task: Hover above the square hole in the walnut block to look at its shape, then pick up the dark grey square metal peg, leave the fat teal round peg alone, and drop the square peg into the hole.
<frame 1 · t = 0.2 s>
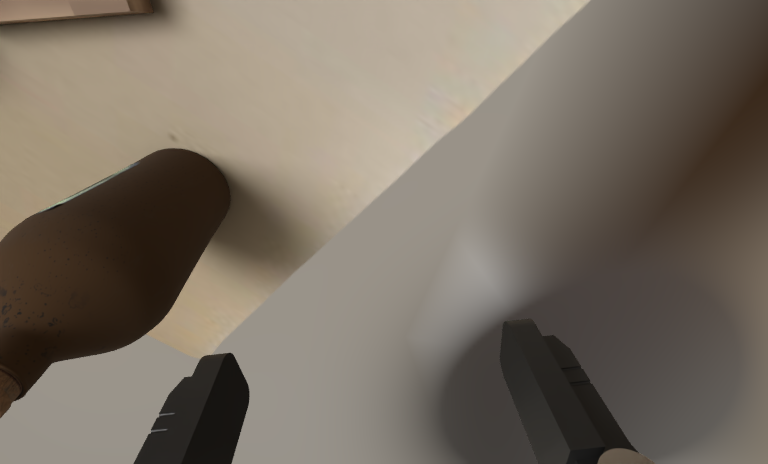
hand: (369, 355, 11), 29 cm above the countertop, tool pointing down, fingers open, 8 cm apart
brown bottle: (186, 188, 38), on the countertop
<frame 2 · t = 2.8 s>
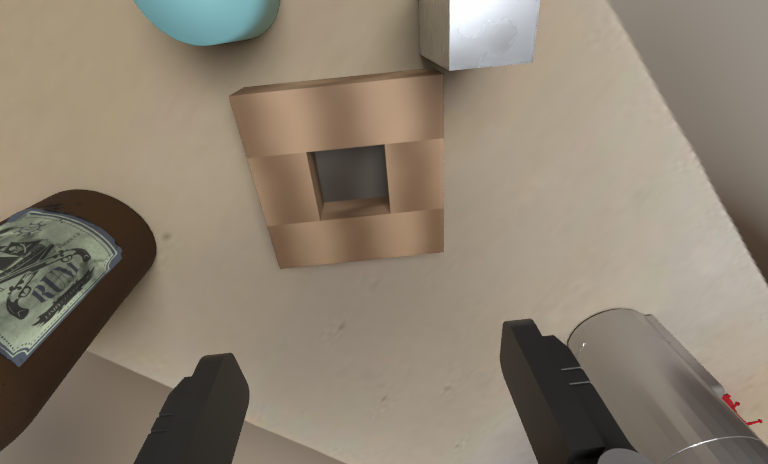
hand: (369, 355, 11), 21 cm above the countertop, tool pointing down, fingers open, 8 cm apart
square peg: (447, 18, 24), on the countertop
brown bottle: (103, 235, 32), on the countertop
socket block: (351, 168, 30), on the countertop
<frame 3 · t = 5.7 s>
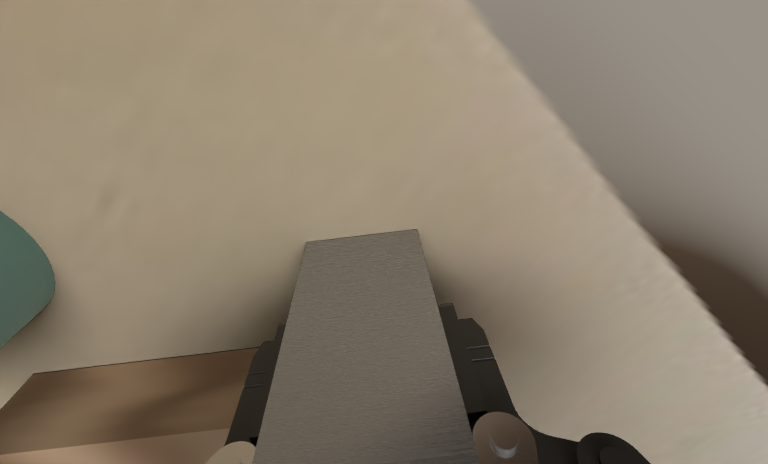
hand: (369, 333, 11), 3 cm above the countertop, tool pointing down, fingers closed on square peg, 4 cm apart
square peg: (368, 279, 14), on the countertop, touching gripper
socket block: (243, 443, 19), on the countertop
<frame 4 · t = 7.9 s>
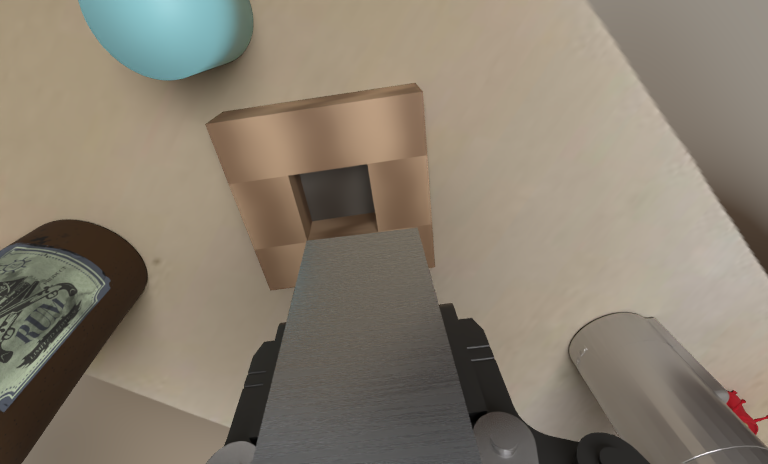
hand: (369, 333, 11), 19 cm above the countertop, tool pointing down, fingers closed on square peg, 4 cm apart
alarm clock: (684, 415, 51), on the countertop
square peg: (369, 277, 14), point 16 cm above the countertop, touching gripper
brown bottle: (93, 262, 32), on the countertop
socket block: (338, 186, 29), on the countertop
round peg: (204, 12, 22), on the countertop
when the fingers open (5 cm above the countertop, at t = 10.6 s): square peg drops 2 cm, resting on socket block.
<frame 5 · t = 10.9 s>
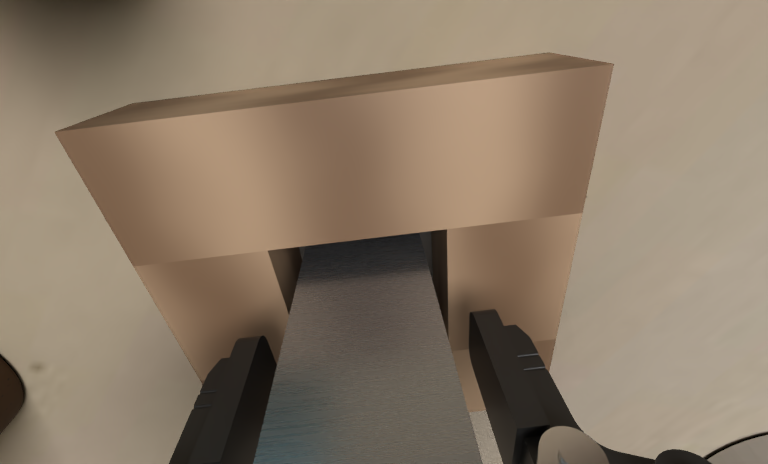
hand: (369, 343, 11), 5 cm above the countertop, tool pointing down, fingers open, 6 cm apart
square peg: (368, 253, 15), resting on socket block
socket block: (367, 251, 15), on the countertop
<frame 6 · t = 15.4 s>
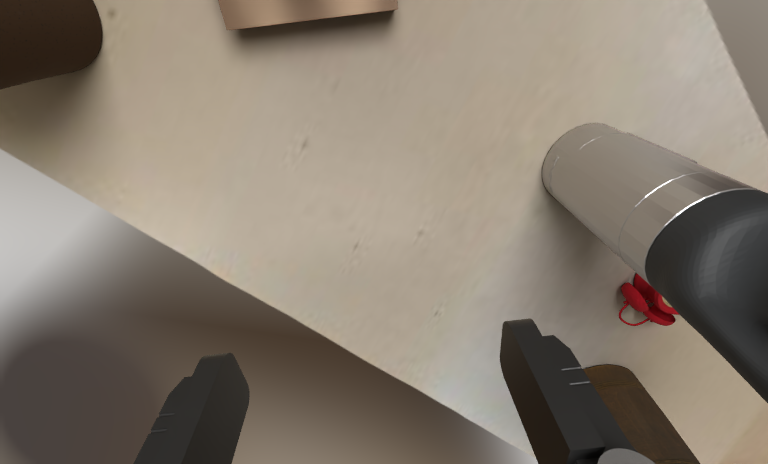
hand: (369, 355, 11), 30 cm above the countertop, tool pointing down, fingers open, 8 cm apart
alarm clock: (658, 277, 51), on the countertop
wooden container: (591, 390, 63), on the countertop
brown bottle: (45, 11, 31), on the countertop
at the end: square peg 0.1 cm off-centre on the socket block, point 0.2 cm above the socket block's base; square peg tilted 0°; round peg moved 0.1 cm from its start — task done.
